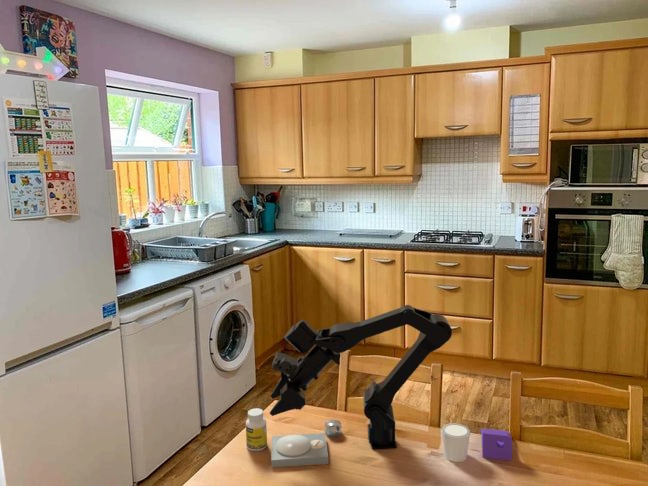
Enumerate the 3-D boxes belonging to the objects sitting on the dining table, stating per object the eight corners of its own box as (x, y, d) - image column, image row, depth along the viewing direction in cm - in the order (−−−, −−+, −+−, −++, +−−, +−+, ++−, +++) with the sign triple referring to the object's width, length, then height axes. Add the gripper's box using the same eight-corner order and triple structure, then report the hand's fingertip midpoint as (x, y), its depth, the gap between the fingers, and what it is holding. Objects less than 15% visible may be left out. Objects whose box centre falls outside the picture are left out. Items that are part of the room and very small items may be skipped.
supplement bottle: (243, 450, 138) (241, 415, 136) (251, 439, 143) (249, 405, 141) (263, 453, 136) (261, 417, 135) (270, 441, 142) (268, 407, 140)
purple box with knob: (511, 462, 130) (512, 436, 129) (482, 458, 132) (483, 433, 131) (508, 436, 142) (508, 412, 141) (481, 433, 144) (481, 410, 142)
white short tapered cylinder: (474, 454, 133) (475, 429, 132) (460, 467, 128) (461, 440, 127) (450, 444, 138) (450, 420, 137) (436, 456, 133) (436, 430, 132)
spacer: (340, 429, 147) (340, 419, 147) (342, 437, 143) (341, 427, 142) (324, 429, 147) (324, 419, 146) (325, 438, 143) (325, 428, 142)
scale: (324, 439, 142) (324, 430, 141) (328, 463, 131) (328, 454, 131) (272, 443, 141) (272, 434, 140) (271, 467, 130) (271, 457, 130)
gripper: (289, 331, 145) (250, 371, 146) (290, 358, 126) (245, 403, 127) (319, 357, 146) (280, 396, 148) (324, 387, 128) (279, 431, 129)
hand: (271, 405), depth 138 cm, fingers open, 9 cm apart
